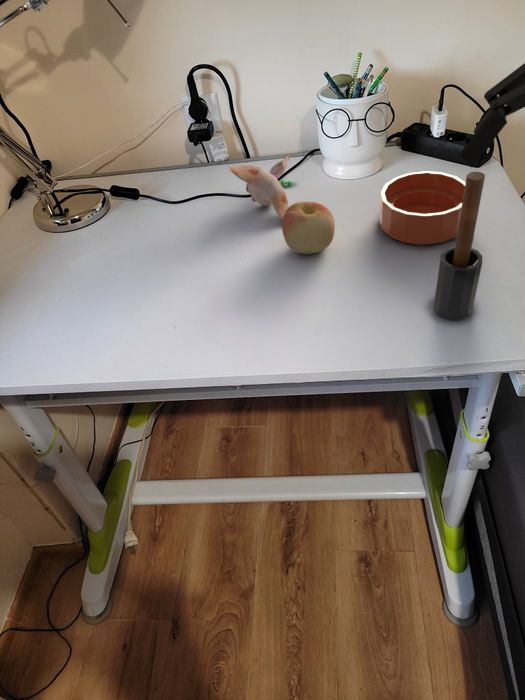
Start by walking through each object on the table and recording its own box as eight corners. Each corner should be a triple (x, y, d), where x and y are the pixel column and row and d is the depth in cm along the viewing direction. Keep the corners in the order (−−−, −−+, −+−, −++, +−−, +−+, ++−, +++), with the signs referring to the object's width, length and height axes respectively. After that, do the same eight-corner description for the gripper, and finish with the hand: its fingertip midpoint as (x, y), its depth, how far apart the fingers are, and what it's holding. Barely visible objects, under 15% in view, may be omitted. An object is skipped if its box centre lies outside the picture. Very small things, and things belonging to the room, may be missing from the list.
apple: (281, 239, 92) (276, 199, 86) (330, 230, 91) (328, 190, 86) (288, 267, 85) (283, 226, 80) (340, 258, 85) (339, 216, 80)
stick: (463, 304, 73) (488, 174, 59) (455, 312, 72) (479, 181, 58) (450, 299, 74) (472, 169, 60) (442, 306, 73) (463, 177, 59)
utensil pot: (478, 306, 73) (490, 254, 67) (458, 325, 71) (468, 274, 64) (446, 292, 76) (454, 241, 70) (426, 310, 74) (432, 260, 67)
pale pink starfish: (239, 154, 104) (212, 186, 94) (262, 127, 99) (235, 158, 89) (292, 205, 108) (270, 241, 98) (316, 181, 103) (296, 217, 93)
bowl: (482, 217, 88) (488, 185, 84) (434, 257, 82) (438, 225, 78) (411, 194, 96) (413, 164, 92) (363, 229, 90) (363, 199, 86)
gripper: (778, 55, 47) (598, 242, 55) (565, 10, 64) (451, 159, 72) (770, 2, 43) (574, 215, 51) (542, -31, 60) (422, 133, 67)
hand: (501, 182), depth 61 cm, fingers open, 13 cm apart
